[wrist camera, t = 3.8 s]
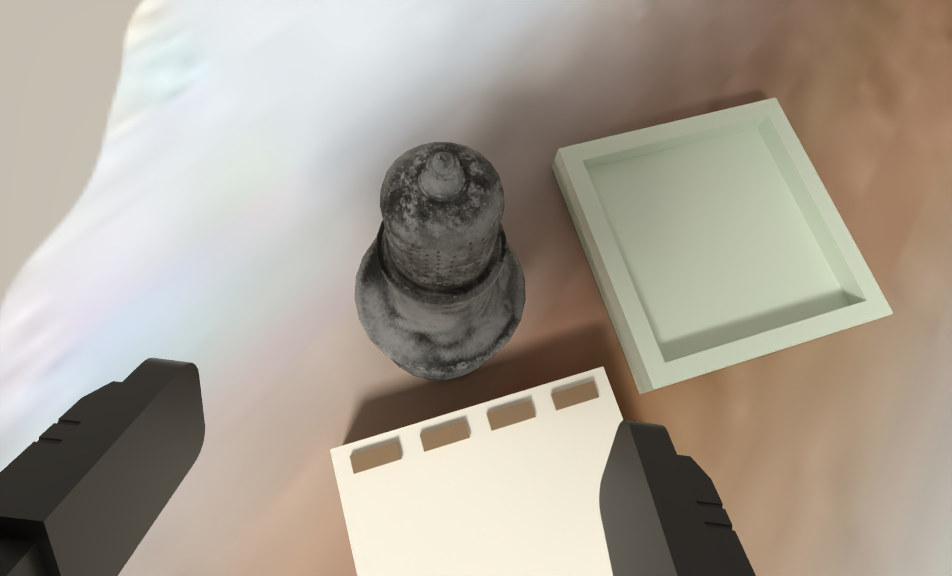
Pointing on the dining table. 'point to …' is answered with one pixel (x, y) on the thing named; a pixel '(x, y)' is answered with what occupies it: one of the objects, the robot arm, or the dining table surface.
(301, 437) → the dining table surface
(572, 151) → the tray
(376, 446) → the board
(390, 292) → the grey stone rounded piece
